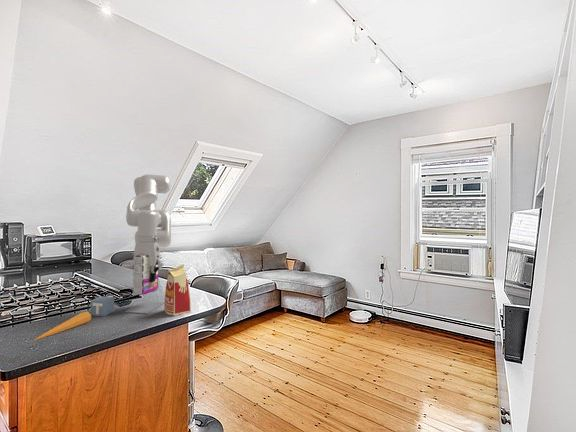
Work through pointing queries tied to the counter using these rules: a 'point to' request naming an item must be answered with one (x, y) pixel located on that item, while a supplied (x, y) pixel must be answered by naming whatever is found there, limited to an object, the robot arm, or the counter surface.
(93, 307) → the letter cube
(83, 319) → the carrot
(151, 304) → the mat
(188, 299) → the milk carton
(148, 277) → the candy bar box
